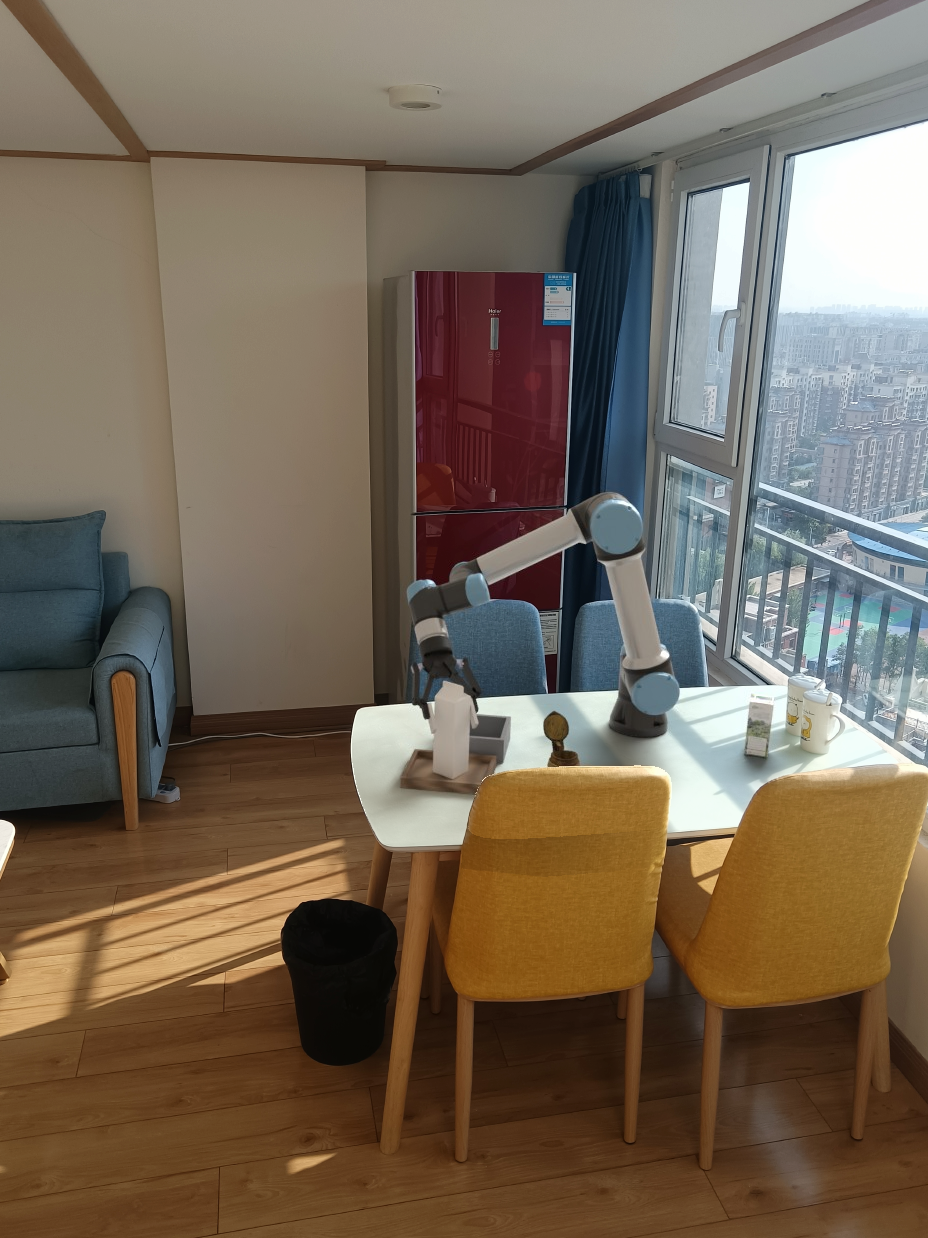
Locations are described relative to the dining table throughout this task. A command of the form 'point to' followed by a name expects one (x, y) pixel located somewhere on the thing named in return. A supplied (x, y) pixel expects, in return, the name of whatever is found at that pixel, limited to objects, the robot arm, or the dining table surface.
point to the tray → (424, 778)
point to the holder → (490, 736)
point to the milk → (451, 731)
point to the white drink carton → (759, 725)
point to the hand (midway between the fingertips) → (455, 728)
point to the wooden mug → (559, 741)
